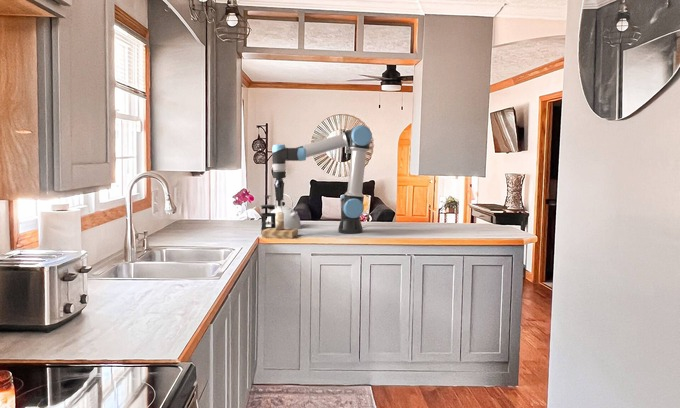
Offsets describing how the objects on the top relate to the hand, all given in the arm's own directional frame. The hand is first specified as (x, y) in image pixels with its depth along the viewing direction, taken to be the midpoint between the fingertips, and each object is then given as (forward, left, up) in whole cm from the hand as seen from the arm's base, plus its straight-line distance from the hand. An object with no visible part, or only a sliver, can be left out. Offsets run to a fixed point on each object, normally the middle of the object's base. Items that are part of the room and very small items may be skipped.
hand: (279, 211), depth 326 cm
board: (0, 0, -15) cm, 15 cm away
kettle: (+8, -36, -15) cm, 40 cm away
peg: (0, 0, -15) cm, 15 cm away
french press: (+10, -10, -15) cm, 21 cm away
